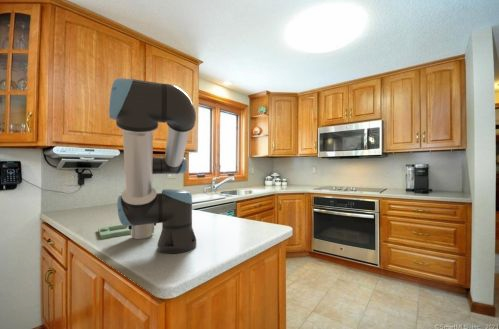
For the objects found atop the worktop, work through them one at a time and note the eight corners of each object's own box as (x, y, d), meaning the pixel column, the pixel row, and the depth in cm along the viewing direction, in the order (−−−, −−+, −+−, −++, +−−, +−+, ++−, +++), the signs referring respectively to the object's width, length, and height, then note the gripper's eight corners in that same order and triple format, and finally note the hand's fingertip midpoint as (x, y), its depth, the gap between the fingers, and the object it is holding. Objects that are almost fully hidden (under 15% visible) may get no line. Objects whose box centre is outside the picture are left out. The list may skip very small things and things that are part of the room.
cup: (144, 239, 102) (144, 212, 102) (128, 238, 104) (128, 212, 104) (155, 234, 110) (155, 209, 110) (140, 233, 112) (140, 208, 112)
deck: (132, 233, 111) (132, 228, 111) (101, 239, 103) (101, 233, 103) (126, 226, 123) (126, 222, 123) (98, 231, 115) (98, 226, 115)
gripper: (162, 184, 116) (163, 228, 116) (115, 187, 104) (116, 236, 103) (167, 185, 110) (167, 232, 110) (118, 188, 98) (118, 241, 97)
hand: (142, 234), depth 107 cm, fingers closed on cup, 8 cm apart
